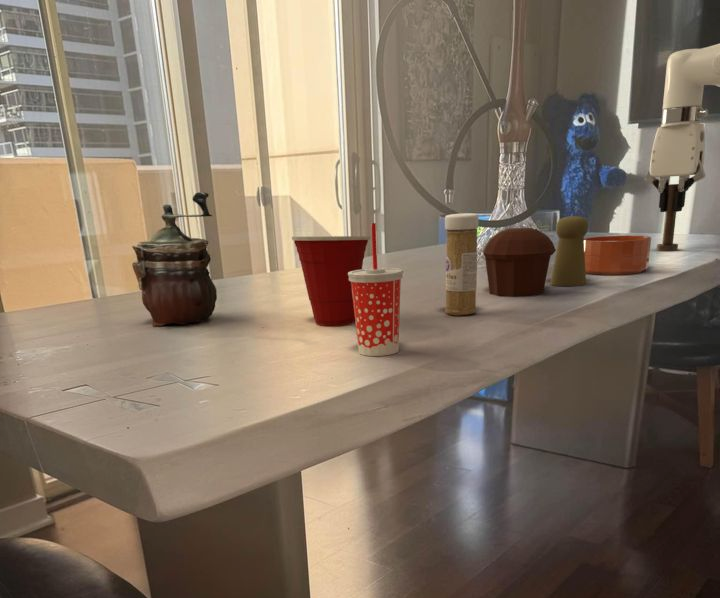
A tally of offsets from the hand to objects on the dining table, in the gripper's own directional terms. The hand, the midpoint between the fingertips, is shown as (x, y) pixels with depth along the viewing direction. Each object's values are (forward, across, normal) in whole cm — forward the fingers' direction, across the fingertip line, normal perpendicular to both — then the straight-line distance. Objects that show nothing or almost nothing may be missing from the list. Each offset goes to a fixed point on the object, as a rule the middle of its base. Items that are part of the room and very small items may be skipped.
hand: (671, 210), depth 153 cm
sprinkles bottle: (+9, -4, +83) cm, 84 cm away
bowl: (+9, -3, +33) cm, 35 cm away
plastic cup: (+9, +8, +97) cm, 98 cm away
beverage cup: (+9, -9, +108) cm, 108 cm away
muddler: (+9, 0, 0) cm, 9 cm away
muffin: (+9, 0, +63) cm, 64 cm away
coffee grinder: (+8, +29, +108) cm, 112 cm away
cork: (+9, -3, +51) cm, 52 cm away
